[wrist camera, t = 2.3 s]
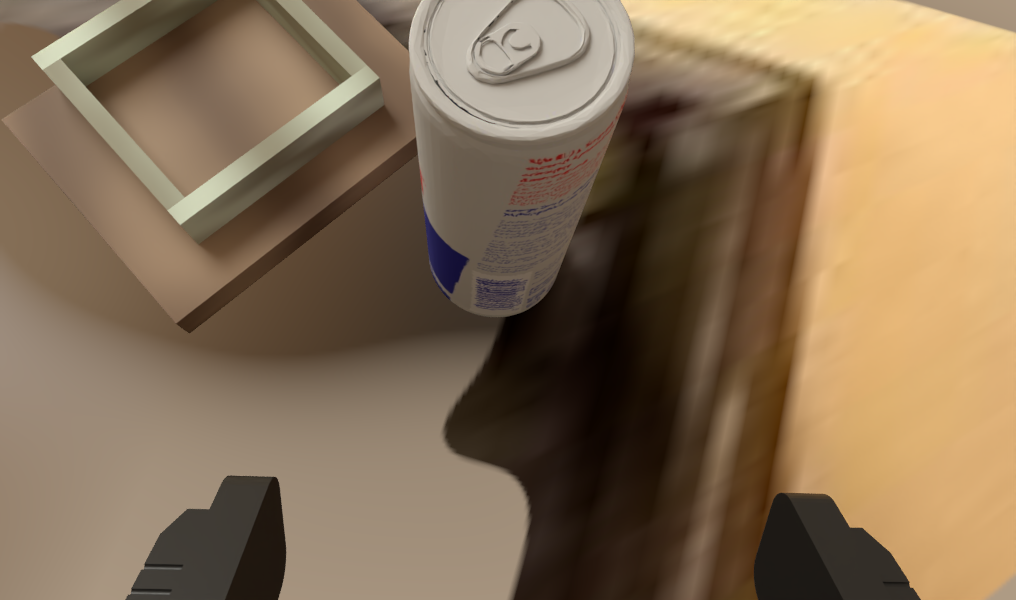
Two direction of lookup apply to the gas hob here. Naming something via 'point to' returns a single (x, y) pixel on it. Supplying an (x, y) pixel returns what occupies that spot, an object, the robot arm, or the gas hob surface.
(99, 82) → the board
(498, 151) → the beverage can
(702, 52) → the gas hob surface
